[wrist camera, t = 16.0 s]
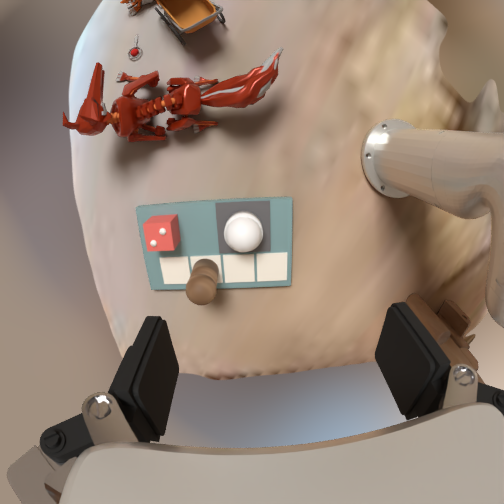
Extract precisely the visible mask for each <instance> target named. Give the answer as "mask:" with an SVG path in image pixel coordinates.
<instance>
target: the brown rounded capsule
mask: <svg viewBox="0 0 504 504" xmlns="http://www.w3.org/2000/svg"><path fill="white" fill-rule="evenodd" d="M218 274H219V269H218V266H217V264H216V263H215V262H214V261H212V260H210V259H200V260H198V261H197V262H196V263H195V264H194V266H193V269H192V272H191V275H190V278H189V280H188V282H187V284H186V294H187V297H188V298H189V300H190V301H191V302H193V303H194V304H197V305H206V304H208V303H210V302H211V301H212V300H213V299H214V298H215V296H216V292H217V288H216V287H217V280H218Z"/></svg>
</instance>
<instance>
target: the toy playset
mask: <svg viewBox="0 0 504 504" xmlns="http://www.w3.org/2000/svg"><path fill="white" fill-rule="evenodd" d="M153 1H154V0H123V1H121V2H120V3H126V4H127V8H128V9H129V8H130V9H129V12H130V14H131V15H132V16H134V15H135V14H136V13H137V12H138V11H139V10H140V8H141V6H140V5H141V3H142V4H147V3H151V2H153ZM155 1H157V4H158V6H159V7H160V8H163V9H164V15H163V14H162V13H161V12H160V11H159V10H158V9H157V8H155V10H156V11H157V12H158V14H159V15H160V16H161V17H162V19H163V20H164V21H165V22H166V23H167V25H168V26H169V27H170V28H171V29H172V31H173V32H174V33H175V34H176V36H177V37H178V38H179V39H180V41H181V42H182V43H183V44H184V45H185V44H186V43H185V42H184V41H183V39H182V38H181V37H180V34H182V33H183V32H185V33H187V34H188V33H193V32H195V31H197V30H198V29H200V28H202V27H204V26H206V25H207V24H209V23H211V22H213V21H214V19H215V18H216V17H217V18H218V19H219V20H220V22H222V23H225V18H224V16H223V14H222V13H221V12H222V11H223V8H222V7H221V6H219V5H217V4H215V3H213V2H211V1H209V0H155ZM137 3H138V5H137V6H136V7H133V6H134V5H136V4H137ZM131 7H132V8H131ZM218 8H219V9H220V10H219V9H218ZM216 10H217V11H216ZM218 14H220V16H221V18H222V19H221V18H220V17H219V16H218ZM168 15H169V16H170V17H169V16H168ZM164 16H166V17H167V18H168V19H169V20H170V21H171V22H172V24H173V25H174V26H175V27H176V29H177V30H178V31H179V33H177V31H176V30H175V29H174V28H173V26H172V25H170V23H169V22H168V21H167V19H166V18H165V17H164ZM137 42H138V34H136V36H135V46H134V47H133V48H137V47H138V46H136V45H137ZM133 48H131V49H130V50H129V52H128V57H129V58H132V59H133V58H136V57H138V56H139V55H140V54H141V51H142V50H141V48H140V47H138V48H140V53H139V51H138V49H133ZM132 49H133V50H132ZM131 50H132V51H131ZM130 51H131V55H132V56H136V55H137V54H138V53H139V54H138V55H137V56H136V57H130V56H129V53H130ZM282 51H283V48H282V47H280V48H278V49H277V50H276V51H275V52H274V53H273V54H272V55H271V56H270V57H269V58H268V59H267V60H266V61H265V62H264V63H263V64H262V65H261V66H260V67H257V68H253V69H252V70H251V71H250V72H249V73H248V74H245V75H240V76H235V77H233V78H230V79H228V80H225V81H222V82H220V83H218V84H216V85H215V86H213V87H211V88H210V89H209V90H207V91H206V92H205V93H204V94H202V95H201V91H200V88H199V86H200V84H202V85H206V83H209V84H213V82H215V83H216V82H218V81H217V80H218V79H214V80H206V79H204V78H202V77H199V76H195V77H194V82H193V81H192V80H191V79H189V78H171V79H170V80H169V81H168V82H167V85H170V86H169V87H168V88H167V91H169V94H166V95H164V96H163V97H164V101H162V97H158V98H156V99H155V100H151V101H148V99H139V98H137V97H135V96H134V94H135V93H136V92H137V90H138V89H140V88H142V87H143V86H145V85H146V84H148V85H149V86H150V87H156V86H157V84H158V81H159V80H160V79H159V73H158V71H154V72H152V73H150V74H148V75H142V76H140V77H138V78H137V77H132V76H128V75H127V74H126V73H124V72H122V71H120V72H119V73H118V76H117V78H116V81H125V80H128V81H133V82H131V83H128V84H126V85H125V86H124V89H123V92H122V96H121V97H119V98H118V99H116V100H115V101H114V102H113V105H112V108H111V112H110V113H109V112H108V111H107V110H106V107H105V103H103V85H104V73H105V71H104V70H102V65H101V64H100V63H99V62H98V63H96V66H95V69H94V72H93V76H92V79H91V83H90V87H89V91H88V95H87V98H86V99H85V100H84V103H83V105H82V106H81V108H80V111H79V114H78V117H77V120H76V122H75V123H71V122H68V120H67V118H66V116H65V114H64V112H63V126H65V127H67V128H69V129H76V130H77V131H78V132H79V133H80V134H81V135H89V136H94V135H97V134H99V133H101V132H103V130H104V129H105V127H106V126H107V125H109V123H110V124H112V126H113V128H114V130H115V132H116V133H117V135H118V136H119V137H128V138H127V141H128V142H135V141H152V140H165V139H166V138H167V136H163V135H165V132H166V131H165V128H164V127H161V126H157V127H156V128H155V127H152V126H149V125H145V124H146V123H147V122H149V121H150V118H151V117H152V116H156V115H158V114H159V113H163V112H165V111H166V110H165V106H166V108H167V111H169V112H170V113H171V114H181V115H182V116H183V117H182V118H181V120H175V118H168V120H167V124H168V127H167V128H166V129H167V130H168V131H180V130H183V129H186V128H189V127H190V126H191V125H193V128H194V133H198V132H200V131H202V130H203V129H205V128H207V127H209V126H213V125H214V126H218V123H217V122H214V121H202V122H199V121H195V119H193V118H189V117H188V116H189V114H192V115H198V114H199V113H200V110H201V104H202V105H207V106H212V107H234V108H245V107H246V106H248V105H253V104H255V103H256V102H257V101H259V100H260V99H262V98H263V97H264V96H265V93H266V91H267V90H268V89H269V88H270V86H271V85H272V84H273V82H274V81H275V79H276V77H277V76H278V61H279V57H280V55H281V53H282ZM172 85H178V86H172ZM175 89H176V90H175ZM184 116H185V117H184ZM140 128H142V129H144V130H148V131H152V132H155V133H154V134H155V135H143V134H142V133H139V132H138V129H140ZM134 131H135V132H134Z"/></svg>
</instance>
